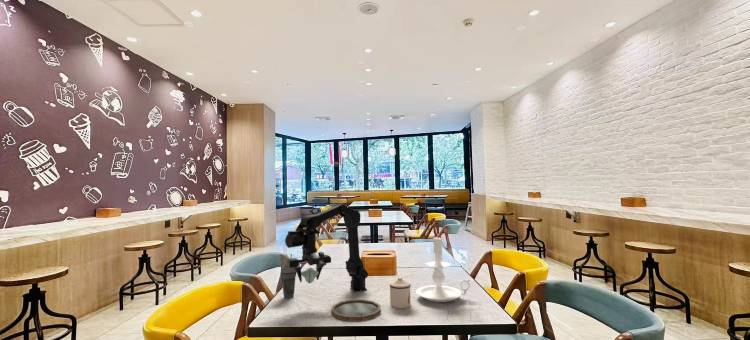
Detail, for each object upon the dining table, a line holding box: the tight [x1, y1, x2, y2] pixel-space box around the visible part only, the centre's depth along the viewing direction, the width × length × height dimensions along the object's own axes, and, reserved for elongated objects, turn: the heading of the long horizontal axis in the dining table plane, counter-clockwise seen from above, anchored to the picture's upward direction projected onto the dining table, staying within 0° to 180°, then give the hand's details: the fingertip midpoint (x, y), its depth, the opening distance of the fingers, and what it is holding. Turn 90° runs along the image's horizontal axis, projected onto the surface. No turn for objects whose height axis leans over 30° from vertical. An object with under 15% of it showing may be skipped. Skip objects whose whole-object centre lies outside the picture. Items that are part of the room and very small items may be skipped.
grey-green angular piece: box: [301, 267, 319, 284], centre depth 146 cm, size 8×4×7 cm, turn 96°
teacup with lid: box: [389, 276, 411, 309], centre depth 145 cm, size 12×9×12 cm
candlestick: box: [415, 236, 471, 303], centre depth 152 cm, size 21×25×28 cm
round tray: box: [330, 298, 382, 322], centre depth 137 cm, size 20×20×2 cm
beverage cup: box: [280, 253, 297, 299], centre depth 157 cm, size 7×7×20 cm
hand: (309, 280), depth 146 cm, fingers closed on grey-green angular piece, 7 cm apart
